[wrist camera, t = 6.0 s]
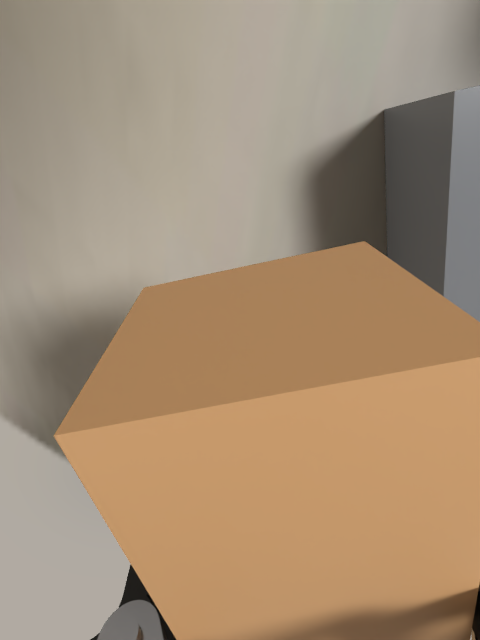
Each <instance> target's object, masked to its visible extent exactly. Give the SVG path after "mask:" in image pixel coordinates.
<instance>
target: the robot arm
mask: <svg viewBox="0 0 480 640" xmlns="http://www.w3.org/2000/svg"><path fill="white" fill-rule="evenodd" d="M471 635H472V640H480V584H479V589H478V595H477V601H476V607H475V613H474V619H473V625H472V631H471ZM91 640H176V638H175V636H174V635H173V633H172V631H171V630H170V628H169V626H168V625H167V623H166V621H165V620H164V618H163V616H162V615H161V613H160V611H159V610H158V608H157V606H156V605H155V603H154V601H153V600H152V598H151V596H150V595H149V593H148V592H147V590H146V588H145V587H144V585H143V583H142V582H141V580H140V578H139V577H138V575H137V573H136V572H135V570H134V568H133V567H132V565H130V569H129V573H128V577H127V581H126V586H125V590H124V594H123V598H122V601H121V603H120V606H119V608H118V609H117V610H116V611H115V612H114V613H113V614H112V615H111V616H110V617H109V618H108V620H107V621H106V623H105V624H104V626H103V628H102V629H101V631H100V633H99V634H98V635H97V636H95V637H94V638H92V639H91Z"/></svg>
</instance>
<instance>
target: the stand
mask: <svg viewBox="0 0 480 640" xmlns="http://www.w3.org/2000/svg"><path fill="white" fill-rule="evenodd" d="M384 119H385V168H386V217H387V257H388V258H389V259H391V260H392V261H394V262H395V263H397V264H398V265H399V266H401V267H402V268H404V269H405V270H406V271H408V272H409V273H411V274H412V275H414V276H415V277H416V278H418V279H419V280H421V281H422V282H424V283H425V284H426V285H428V286H429V287H431V288H432V289H433V290H435V291H436V292H438V293H439V294H441V295H442V296H443V297H445V298H446V299H448V300H449V301H451V302H452V303H453V304H455V305H456V306H458V307H459V308H460V309H462V310H463V311H465V312H466V313H468V314H469V315H470V316H472V317H473V318H475V319H476V320H478V321H479V322H480V85H479V86H475V87H470V88H466V89H462V90H457V91H453V92H449V93H446V94H442V95H438V96H434V97H430V98H427V99H423V100H419V101H415V102H412V103H408V104H404V105H400V106H396V107H393V108H389V109H385V110H384Z"/></svg>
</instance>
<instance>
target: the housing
mask: <svg viewBox="0 0 480 640" xmlns="http://www.w3.org/2000/svg"><path fill="white" fill-rule="evenodd" d="M54 437H55V439H56V441H57V442H58V444H59V446H60V447H61V449H62V451H63V452H64V454H65V456H66V457H67V459H68V461H69V462H70V464H71V465H72V467H73V469H74V470H75V472H76V474H77V475H78V477H79V479H80V480H81V482H82V484H83V485H84V487H85V489H86V490H87V492H88V494H89V495H90V497H91V499H92V500H93V502H94V504H95V505H96V507H97V509H98V510H99V512H100V514H101V515H102V517H103V519H104V520H105V522H106V523H107V525H108V527H109V528H110V530H111V532H112V533H113V535H114V537H115V538H116V540H117V542H118V543H119V545H120V547H121V548H122V550H123V552H124V553H125V555H126V557H127V558H128V560H129V562H130V563H131V565H132V567H133V568H134V570H135V572H136V573H137V575H138V577H139V578H140V580H141V582H142V583H143V585H144V587H145V588H146V590H147V592H148V593H149V595H150V596H151V598H152V600H153V601H154V603H155V605H156V606H157V608H158V610H159V611H160V613H161V615H162V616H163V618H164V620H165V621H166V623H167V625H168V626H169V628H170V630H171V631H172V633H173V635H174V636H175V638H176V640H470V636H471V631H472V625H473V619H474V613H475V607H476V601H477V595H478V589H479V584H480V322H479V321H478V320H476V319H475V318H473V317H472V316H470V315H469V314H468V313H466V312H465V311H463V310H462V309H460V308H459V307H458V306H456V305H455V304H453V303H452V302H451V301H449V300H448V299H446V298H445V297H443V296H442V295H441V294H439V293H438V292H436V291H435V290H433V289H432V288H431V287H429V286H428V285H426V284H425V283H424V282H422V281H421V280H419V279H418V278H416V277H415V276H414V275H412V274H411V273H409V272H408V271H406V270H405V269H404V268H402V267H401V266H399V265H398V264H397V263H395V262H394V261H392V260H391V259H389V258H388V257H387V256H385V255H384V254H382V253H381V252H379V251H378V250H377V249H375V248H374V247H372V246H371V245H370V244H368V243H367V242H365V241H362V242H358V243H353V244H348V245H344V246H339V247H334V248H329V249H325V250H320V251H315V252H310V253H306V254H301V255H296V256H292V257H287V258H282V259H277V260H273V261H268V262H263V263H259V264H254V265H249V266H244V267H240V268H235V269H230V270H225V271H221V272H216V273H211V274H207V275H202V276H197V277H192V278H188V279H183V280H178V281H173V282H169V283H164V284H159V285H155V286H150V287H145V288H143V290H142V292H141V293H140V295H139V296H138V298H137V300H136V301H135V303H134V305H133V306H132V308H131V310H130V311H129V313H128V314H127V316H126V318H125V319H124V321H123V323H122V324H121V326H120V328H119V329H118V331H117V333H116V334H115V336H114V337H113V339H112V341H111V342H110V344H109V346H108V347H107V349H106V351H105V352H104V354H103V355H102V357H101V359H100V360H99V362H98V364H97V365H96V367H95V369H94V370H93V372H92V374H91V375H90V377H89V378H88V380H87V382H86V383H85V385H84V387H83V388H82V390H81V392H80V393H79V395H78V397H77V398H76V400H75V401H74V403H73V405H72V406H71V408H70V410H69V411H68V413H67V415H66V416H65V418H64V419H63V421H62V423H61V424H60V426H59V428H58V429H57V431H56V433H55V434H54Z"/></svg>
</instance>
